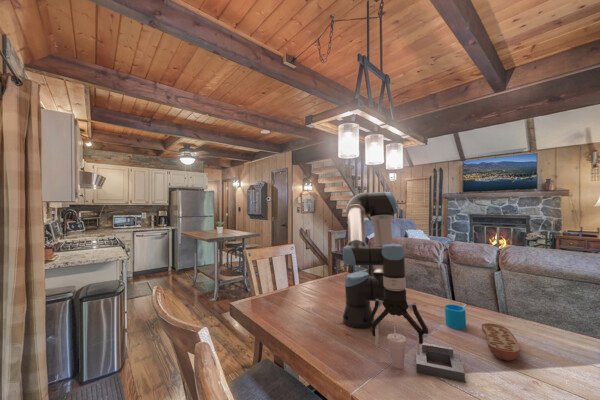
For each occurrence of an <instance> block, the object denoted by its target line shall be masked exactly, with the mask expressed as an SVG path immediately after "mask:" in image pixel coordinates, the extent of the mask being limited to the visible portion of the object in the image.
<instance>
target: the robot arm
mask: <svg viewBox="0 0 600 400" xmlns="http://www.w3.org/2000/svg"><path fill="white" fill-rule="evenodd" d="M345 208H346V209H345V214H346V216H347V245H345V246H343V247H342V261H343V263H344V265H347V266H375V269H374V271H372V275H370V273H369V272H366V271H355V272H351V273H349V274H347V275H346V276H345V278H344V279H345V280H344V282H345V283H344V286H345V289H344V290H345V308H344V311H343V314H342V322H343V323H344V324H345V325H346V326H348V327H350V326H351V328H354V327H355V328H356V329H367V328H371V333H372V337H374V338H375V348H379V346H380V337H379V335H380V334H379V333H380V332H379V324H380V322H382V320H383V319H385V317H386V316H388V314H390V315H391V316H398V317H400V316H403V318H404V319H405V320H407V322H408V323H409V324H410V325H411V326H412V328H413V329H414V330H415V331H416V332H415V333H416V334H415V335H416V347H417V355H420V348H421V347H420V345H422V344H423V343H424V341H423V340H424V335H429V328H428V326H427V324H426V323H425V321H424V320H423V317H422V316H421V314H420V312H419V310H418V307H417V303H416V302H412V303H408V302H407V290H406V288H407V282H406V270H405V269H406V267H405V266H406V264H405V255H406V253H405V249H404V246H403V245H402V244H401V243H400V244H399V243H393V232H392V231H393V230H392V220H393V219H394V217H395V216H394V215H395V214H397V203H396V199H395V195H394V194H393V192H392V191H390V192H389V191H377V192H376V191H375V192H374V191H373V192H360V193H358V194H356V195H354V196H353V197H352V198H350V200H349V201H348V203H347V205H346V207H345ZM365 215H367V216H370V220H372V222H373V235H374V236H373V237H374V239H373V240H374V245H373V246H372V245H370V246H368V245H367V244H366V231H365V220H364V218H365ZM371 302H374V307H373V309H372V308H371ZM381 306H383V307H384V308H385V309H384V310H383V311H382V312H381V313H380V314H379V315H378V316H377V318H376V319H375V315H376V313H377V312H378V309H379V308H380V307H381ZM408 308H409V309H410V311H411V312H413V315H414V316H415V318H416V320H417V321H418V322H417V321H415V319H413V317H412V316H411V315H410V313H409V311H407V310H408ZM418 323H419V324H418ZM420 326H421V327H420Z"/></svg>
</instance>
